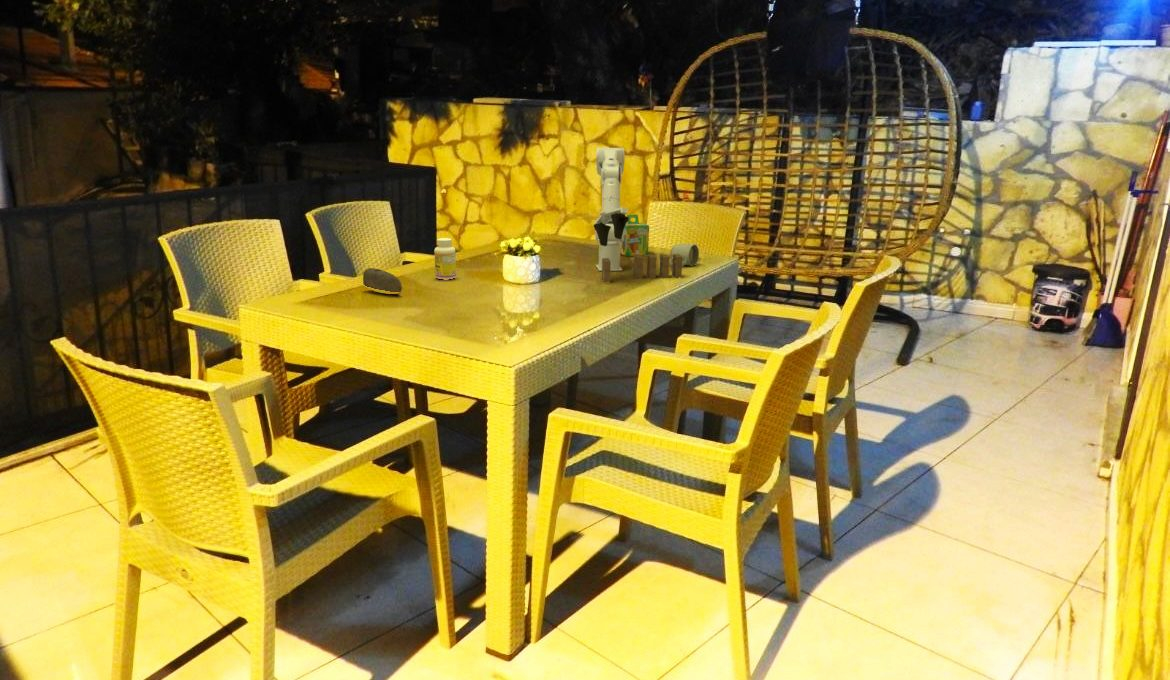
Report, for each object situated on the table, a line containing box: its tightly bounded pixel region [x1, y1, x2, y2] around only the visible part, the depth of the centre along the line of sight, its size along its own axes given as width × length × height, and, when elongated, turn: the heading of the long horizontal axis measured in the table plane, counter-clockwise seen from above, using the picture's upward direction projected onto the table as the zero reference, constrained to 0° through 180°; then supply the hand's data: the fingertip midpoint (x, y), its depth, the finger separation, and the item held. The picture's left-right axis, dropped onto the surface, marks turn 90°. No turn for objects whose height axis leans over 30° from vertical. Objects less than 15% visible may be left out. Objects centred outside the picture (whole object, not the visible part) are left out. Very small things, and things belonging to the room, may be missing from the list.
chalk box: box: [620, 214, 650, 257], centre depth 317 cm, size 9×9×15 cm
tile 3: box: [646, 253, 657, 279], centre depth 278 cm, size 5×2×7 cm, turn 7°
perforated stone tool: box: [362, 267, 403, 293], centre depth 251 cm, size 15×5×7 cm, turn 51°
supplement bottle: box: [433, 237, 457, 280], centre depth 272 cm, size 7×7×13 cm
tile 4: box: [659, 253, 670, 279], centre depth 278 cm, size 5×2×7 cm, turn 7°
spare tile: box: [601, 258, 611, 283], centre depth 270 cm, size 5×2×7 cm, turn 7°
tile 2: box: [633, 255, 644, 278], centre depth 277 cm, size 5×2×7 cm, turn 7°
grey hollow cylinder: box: [669, 243, 700, 267], centre depth 297 cm, size 11×8×8 cm
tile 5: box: [671, 254, 683, 279], centre depth 279 cm, size 5×2×7 cm, turn 7°
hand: (610, 241), depth 267 cm, fingers open, 7 cm apart
